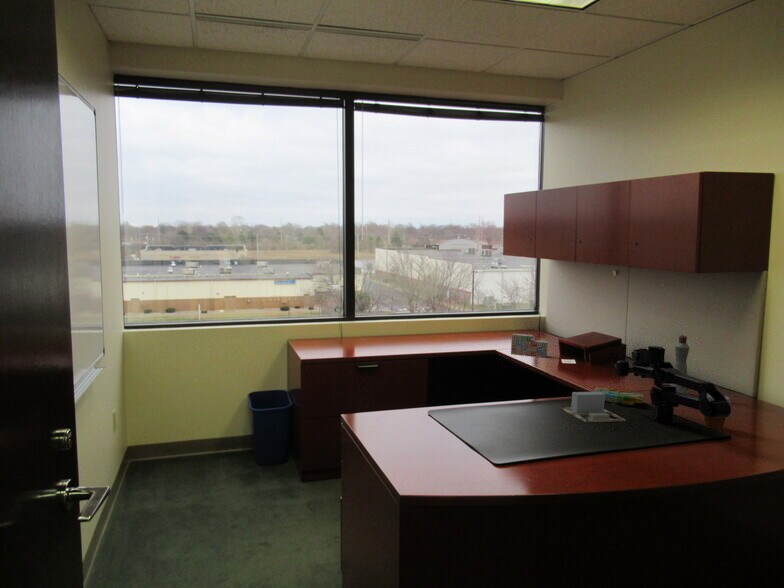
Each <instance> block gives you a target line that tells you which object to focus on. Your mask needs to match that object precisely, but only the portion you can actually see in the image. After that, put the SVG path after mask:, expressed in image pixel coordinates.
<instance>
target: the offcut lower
mask: <svg viewBox="0 0 784 588" xmlns="http://www.w3.org/2000/svg"><path fill="white" fill-rule="evenodd" d="M584 419H586V420H599V419H591V418H589V417H588V416H584ZM609 419H613V418H612V417H610V416H609Z"/></svg>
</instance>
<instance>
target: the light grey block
mask: <svg viewBox="0 0 784 588" xmlns="http://www.w3.org/2000/svg"><path fill="white" fill-rule="evenodd" d="M605 403H606V402H605V394H603V393H601V392H594V391H572V393H571V405H570V407H571V410H570V411H571V412H573V413H575V414H576V413H605V412H604V409H605Z"/></svg>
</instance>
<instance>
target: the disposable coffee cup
mask: <svg viewBox="0 0 784 588" xmlns="http://www.w3.org/2000/svg"><path fill="white" fill-rule="evenodd" d="M722 395H723V394H722ZM723 396H724V397H725V398H726V400H727V402H728V403H729V405H730V404H731V400H730V397H729V396H727V395H723ZM707 399H708V400H715V399H713V398H712V397H711V396H710V395H709V393H707ZM726 418H727V417H716V418H709V417H707V416H705V415H703V421H704V422H703V425H704V426H706V427H705V428H708V429H711V428H712V429H713V430H718V431H719V430H723V429H724V427H725V426H724V425H725V423H726Z"/></svg>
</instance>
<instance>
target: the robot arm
mask: <svg viewBox="0 0 784 588" xmlns="http://www.w3.org/2000/svg"><path fill="white" fill-rule="evenodd" d="M665 353H666V349H665V348H664V346H658V345H657V346H655V345H648V347H647V348H637V349H633V351H632V352H631V358H632V359H633V360H634V361H633V363H632V366H630V363H629V361H627V360H617V362H616V363H615V364H614V368H615V371H616V373H615V375H616V376H617V377H620V378H622V377H628V376H629V375H630V374H632V373H633V376H634V377H640V378H642V379H650V380H653V385H654V386H652V387H651V389H650V391H649V396H650V403H651V406H653V407H654V417H651V418H650V419H651V420H652V421H655V422H657V423H660V424H662V425H671V423H672V425H673V423H675V424H676V423H677V422H676V421H675V420H673V419H674V409H675V408H679V406H683V407H688V408H690V409H694V410H698V411H699V412H700V413H701V414H702V415H703V416H704V415H705V416H707V417H709V418H716V417H726V418H728V417H729V416H730V414H731V412H732V408H731V405H730V404H729V403H728V402H727V400H726V398H725V397H724V396H725V395H724V396H723V394H722V392H721V391H719V390H718V389H717V388H716V386H715V385H714V383H713V382H710V381H706V380H701V379H699V378H696V377H693V376H689V375H687V376H686V375H683V374H682V373H681V372H680V371H679V370H677V369H675V368H674V365H673V364H672V363H671V362H670V361H665ZM669 384H677V385H680V386H683V387H686V388H688V390H692V391H695V392H697V393H698V396H693V395H690V394H687V395H686V394H683V393H679V392H677V391H676V387H674V386H671V385H669ZM707 393H709V395H710V396H711V397H712V398H713V399H715V400H708V399H707Z"/></svg>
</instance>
